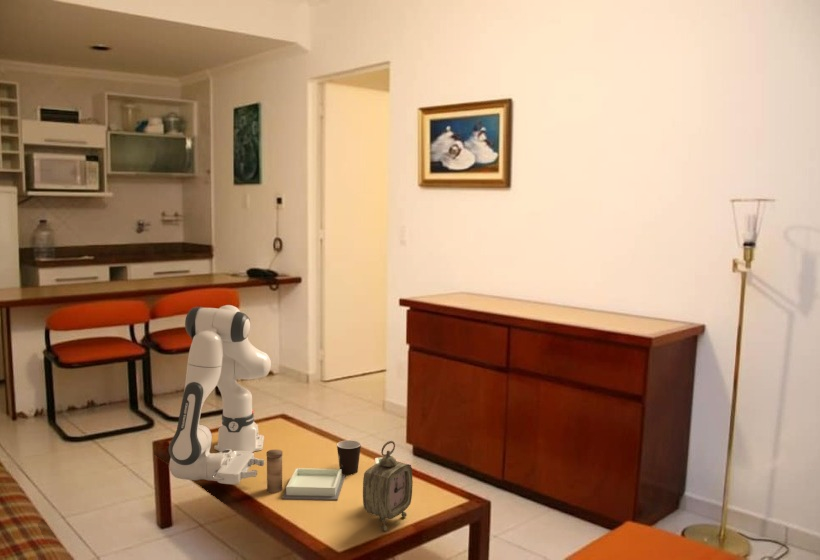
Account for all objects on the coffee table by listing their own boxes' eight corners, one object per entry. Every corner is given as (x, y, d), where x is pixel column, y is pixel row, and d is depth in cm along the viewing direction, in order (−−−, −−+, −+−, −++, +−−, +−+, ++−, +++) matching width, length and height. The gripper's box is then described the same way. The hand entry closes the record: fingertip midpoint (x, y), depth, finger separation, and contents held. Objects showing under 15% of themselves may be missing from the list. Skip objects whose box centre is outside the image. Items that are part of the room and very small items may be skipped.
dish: (296, 475, 236) (296, 468, 236) (341, 476, 236) (341, 469, 235) (286, 495, 220) (286, 486, 220) (335, 496, 220) (335, 487, 219)
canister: (268, 486, 228) (268, 449, 227) (284, 486, 228) (283, 449, 227) (265, 492, 223) (264, 454, 222) (280, 493, 223) (280, 455, 221)
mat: (294, 474, 238) (294, 473, 238) (345, 476, 238) (345, 474, 238) (281, 499, 218) (281, 497, 218) (337, 500, 218) (337, 498, 218)
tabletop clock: (385, 535, 195) (386, 451, 192) (360, 527, 200) (360, 445, 197) (412, 516, 207) (413, 437, 204) (387, 509, 212) (388, 432, 209)
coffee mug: (357, 476, 237) (357, 449, 236) (333, 474, 239) (333, 447, 238) (365, 464, 248) (365, 438, 247) (343, 462, 250) (343, 436, 249)
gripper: (208, 469, 215) (251, 470, 214) (228, 447, 235) (267, 448, 234) (209, 488, 215) (252, 490, 215) (228, 464, 236) (268, 465, 235)
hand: (260, 468), depth 225 cm, fingers open, 8 cm apart
